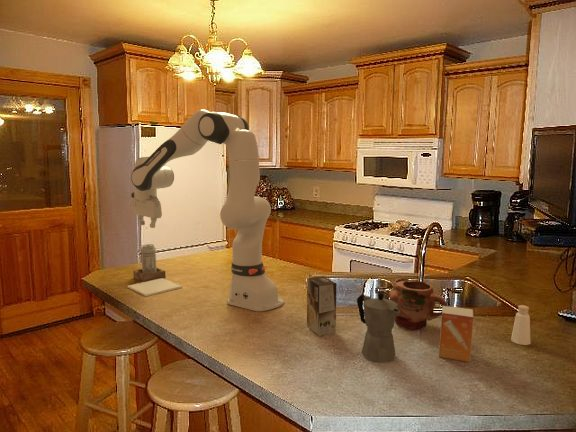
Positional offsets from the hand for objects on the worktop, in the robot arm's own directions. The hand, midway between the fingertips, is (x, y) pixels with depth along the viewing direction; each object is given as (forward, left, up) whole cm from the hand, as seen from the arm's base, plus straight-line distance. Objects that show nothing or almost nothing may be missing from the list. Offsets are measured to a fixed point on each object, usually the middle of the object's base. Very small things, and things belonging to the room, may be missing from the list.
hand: (147, 226), depth 191 cm
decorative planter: (-110, -36, -24) cm, 118 cm away
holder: (0, 0, -24) cm, 24 cm away
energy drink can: (0, 0, -24) cm, 24 cm away
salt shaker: (-138, -48, -24) cm, 148 cm away
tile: (-14, +5, -24) cm, 28 cm away
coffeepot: (-112, -10, -24) cm, 115 cm away
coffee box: (-90, -12, -24) cm, 94 cm away
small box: (-128, -25, -24) cm, 133 cm away
